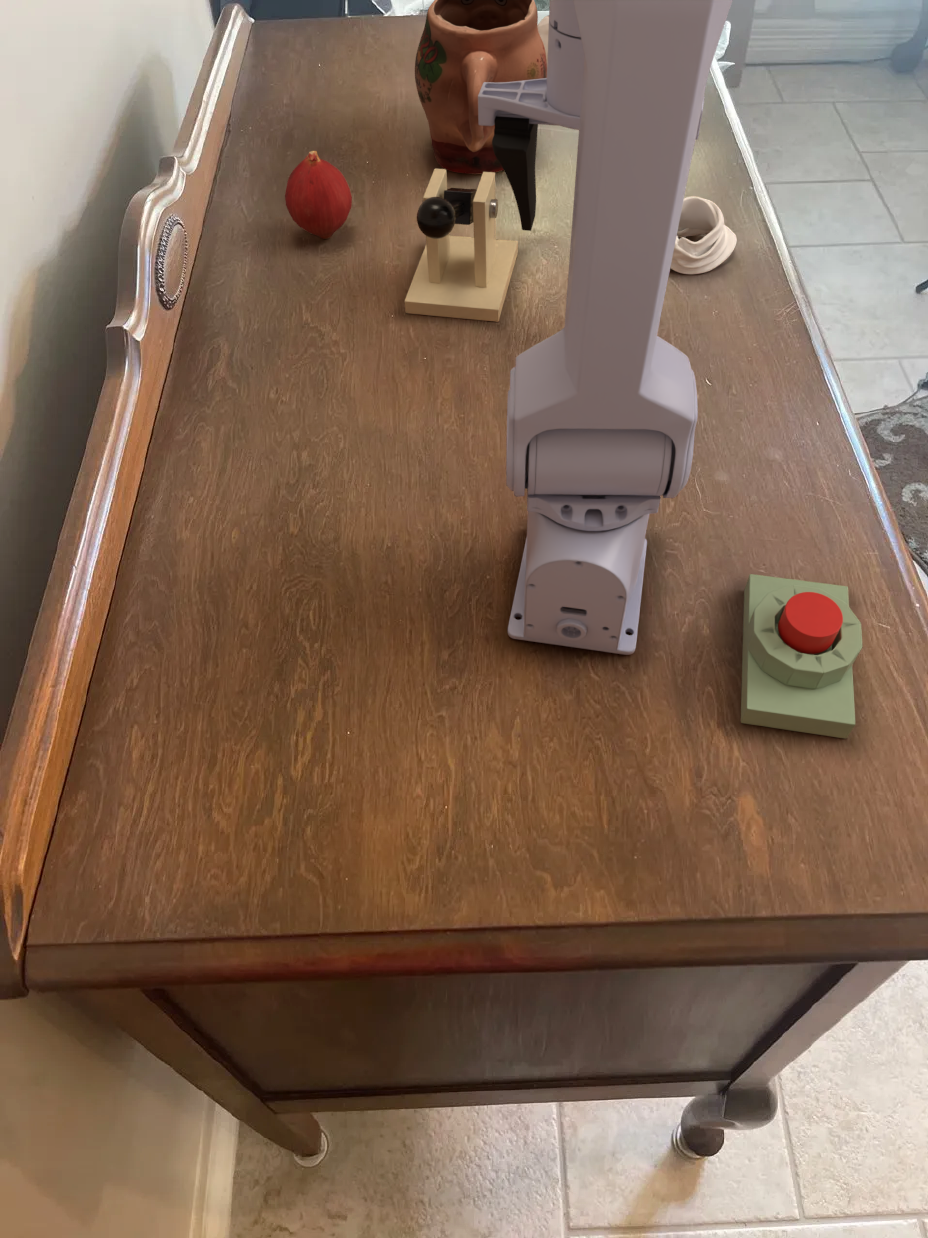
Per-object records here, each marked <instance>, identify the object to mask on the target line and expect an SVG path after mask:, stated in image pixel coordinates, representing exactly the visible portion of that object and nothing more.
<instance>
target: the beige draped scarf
mask: <svg viewBox="0 0 928 1238" xmlns="http://www.w3.org/2000/svg"><path fill="white" fill-rule="evenodd" d="M694 236H695V237H696V236H703V237H702V238H700V239H699V240H698V241H692V240H691V239H688V238H686V237H694ZM737 243H738V240H737V235H736V233H734V232H733V231H732V229H731V228H729V226H727V225H726V224H725V217H724V214H723V211H722V210H721V208H720V207H719V206H718V205H717V204H716V203H715V202H714V201H712V200H710V199H708V198H703V197H701V196H695V195H692V196H686V197H684V200H683V206H682V211H681V216H680V221H679V226H678V231H677V236H676V241H675V246H674V251H673V257H672V262H671V267H670V270H673V271H674V272H677V273H680V274H683V275H698V274H703V273H707V272H711V271H712V270H714V269H716V268H718V267H719V266H720V265H721V264H722V263H724V262H725V261H726V260H728V258H729V257H730V256H731V255H732V254H733V252H734V250H735V249H736V246H737Z"/></svg>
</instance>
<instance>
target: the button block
mask: <svg viewBox="0 0 928 1238" xmlns="http://www.w3.org/2000/svg"><path fill="white" fill-rule="evenodd" d="M803 592H815V593H819V594H822V595H825V596H827V597H828V598H830V599H832V600H833V601H834V602H835V603H836V604H837V605H838V606H839V608H840V610H841V612H842V615H843V623H842V626H841V628H840V630H839V632H838V634H837V636H836V638H835V640H834V641H833V643H832V645H831V646H830V647H829V648H828V649H827V650H825V651H823V652H820V653H816V654H806V653H802V652H798V651H796V650H794V649H792V648H791V647H789V646H788V645H787V644H786V643H785V642H784V641H783V640H782V638H781V637H780V634H779V631H778V623H779V620H780V618H781V615H782V613H783V611H784V608H785V606H786V604H787V602H788V600H789V599H790V598H791V597H793V596H794V595H796V594H799V593H803ZM849 598H850V597H849V587H848V586H847V585H840V584H831V583H824V582H816V581H809V580H802V579H795V578H784V577H777V576H769V575H762V574H753V573H749V575H748V578H747V581H746V583H745V587H744V590H743V617H742V618H743V620H742V623H743V624H742V657H741V659H742V660H741V694H740V695H741V698H740V723H741V724H745V725H752V726H759V727H766V728H773V729H780V730H786V731H792V732H800V733H806V734H812V735H820V736H824V737H825V736H827V737H832V738H833V737H834V738H838V739H839V738H840V739H845V740H846V739H848V737H849V736H850V734H851V733H852V731H853V729H854V728H855V726H856V708H855V707H856V706H855V691H854V675H853V674H854V672H853V665H854V663H855V661H856V659H857V658H858V657H859V654H860V653H861V651H862V649H863V633H862V632H863V631H862V622H861V621H860V620H859V618H858V617H857V616H856V614H855V613H854V611H853V610H852V608H850V601H849V600H850V599H849Z"/></svg>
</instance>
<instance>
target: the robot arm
mask: <svg viewBox="0 0 928 1238" xmlns="http://www.w3.org/2000/svg"><path fill="white" fill-rule="evenodd" d="M733 1H734V0H549V7H548V8H549V11H548V12H549V13H548V15H549V32H548V60H547V78H542V79H533V80H523V81H514V82H497V83H494V82H484V83H483V85H482V87H481V90H480V92H479V95H478V123H479V125H482V126H493V125H494V124H495V129H494V137H493V139H492V146H493V151H494V154H495V156H496V158H497V159H498V161H499V162H500V164H501V166H502V168H503V170H502V171H504V174H505V176H506V177H507V180H508V182H509V185H510V187H511V190H512V193H513V196H514V199H515V202H516V206H517V209H518V214H519V219H520V220H519V221H520V225H521V226H520V227H521V230H522V231H527V232H531V231H532V228H533V225H534V221H535V218H536V212H537V185H536V184H537V182H536V181H537V180H536V179H537V178H536V161H537V145H538V143H537V142H538V131H539V129H538V128H539V125H542V126H543V125H545V126H558V127H562V128H567V129H571V130H576V131H578V137H577V153H576V164H575V165H576V166H575V179H574V180H575V181H574V193H573V205H572V217H571V218H572V220H571V232H570V233H571V234H570V245H569V261H568V274H567V285H566V286H567V287H566V298H565V299H566V300H565V301H566V302H565V312H564V314H565V315H564V327H563V328H562V329H560V330H559V331H557V332H555V333H554V334H552V335H550V336H549V337H547V338H545V339H543V340H542V341H539V342H538V343H535V344H534V345H532V346H531V347H529V348H528V349H526V350H524V351H522V352H521V353H519V354H518V355H517V356H516V357H515V366H513V367H512V368H511V369H510V371H509V372H510V374H509V389H508V390H507V400H506V401H507V403H506V412H507V413H506V450H505V451H506V453H505V454H506V457H505V459H506V460H505V462H506V463H505V464H506V465H505V468H506V469H505V475H506V477H505V480H506V481H505V485H506V487H507V488H508V489H509V490H510V491H511V492H513V496H514V497H518V498H519V497H525V495H526V511H527V524H526V538H525V544H524V548H523V553H522V558H521V563H520V568H519V572H518V577H517V581H516V587H515V591H514V596H513V601H512V607H511V611H510V616H509V620H508V625H507V635H508V637H510V639H513V640H519V641H526V642H527V641H528V642H535V643H540V644H541V643H542V644H547V645H555V646H563V647H569V648H577V649H583V650H590V651H597V652H604V653H610V654H611V653H612V654H619V655H625V656H628V655H629V656H630V655H633V654H634V653H635V651H636V648H637V640H638V631H639V621H640V612H641V604H642V603H641V602H642V594H643V584H644V576H645V575H644V574H645V565H646V558H647V557H646V556H647V546H648V540H647V538H646V534H647V529H648V524H649V519H650V515H652V514H653V515H654V514H658V513H659V508H660V503H661V499H662V497H663V498H664V499H675V498H676V497H678V495H679V493H680V492H681V491H682V490H683V489H684V488H686V487H687V485H688V482H689V479H690V475H691V470H692V465H693V458H694V447H695V434H696V433H695V432H696V428H697V424H698V423H697V422H698V417H699V412H698V411H699V407H698V391H697V381H696V376H695V371H694V370H693V368H692V365H691V362H690V358H689V357H688V355H687V354H685V353H684V352H683V351H681V350H680V349H679V348H677V347H676V346H674V345H673V344H672V343H670V342H668V341H666V340H665V339H663V338H662V337H660V336H658V332H659V327H660V322H661V317H662V312H663V307H664V302H665V296H666V291H667V287H668V282H669V276H670V271H671V269H670V267H671V262H672V257H673V251H674V246H675V241H676V236H677V231H678V226H679V221H680V216H681V211H682V206H683V200H684V198H685V195H686V191H687V185H688V179H689V175H690V170H691V164H692V160H693V154H694V149H695V144H696V141H697V140H699V137H700V131H701V125H702V120H703V119H702V118H703V114H704V105H705V93H706V88H707V84H708V80H709V75H710V71H711V67H712V64H713V61H714V57H715V55H716V52H717V49H718V46H719V43H720V40H721V37H722V33H723V31H724V27H725V26H726V25H725V24H726V22H727V18H728V15H729V13H730V10H731V6H732V4H733ZM525 491H526V494H525ZM516 618H520V619H516ZM627 633H631V634H630V635H629V634H627Z"/></svg>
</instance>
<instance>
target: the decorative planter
mask: <svg viewBox="0 0 928 1238" xmlns="http://www.w3.org/2000/svg"><path fill="white" fill-rule="evenodd" d="M538 14H539V13H538V8H537V4H536V2H535V0H433V2H432V3H431V4H430V5H429V6H428V8H427V12H426V16H425V17H426V18H425V21H424V22H425V23H424V27H423V30H422V34H421V37H420V40H419V43H418V47H417V50H416V54H415V59H414V79H415V81H414V82H415V87H416V91H417V95H418V98H419V101H420V102H419V103H420V105H421V107H422V109H423V111H424V114H425V117H426V120H427V124H428V128H429V135H430V140H431V141H430V142H431V143H430V144H431V149H432V153H433V156H434V158H435V160H436V162H437V163H438V164H439V166H440V167H441V168H442V169H446V171H449V172H453V173H459V174H466V175H467V174H468V175H482V173H483V172H494V173H499V172H502V171H504V170H503V168H502V166H501V164H500V162H499V161H498V159H497V158H496V156H495V154H494V151H493V146H492V139H493V137H494V129H495V124H494V125H493V126H482V125H479V123H478V95H479V92H480V90H481V87H482V85H483V83H484V82H494V83H497V82H514V81H523V80H533V79H542V78H547V58H546V51H545V47H544V44H543V41H542V39H541V37H540V35H539V32H538V24H539V23H538V22H539V21H538V20H539V15H538Z"/></svg>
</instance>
